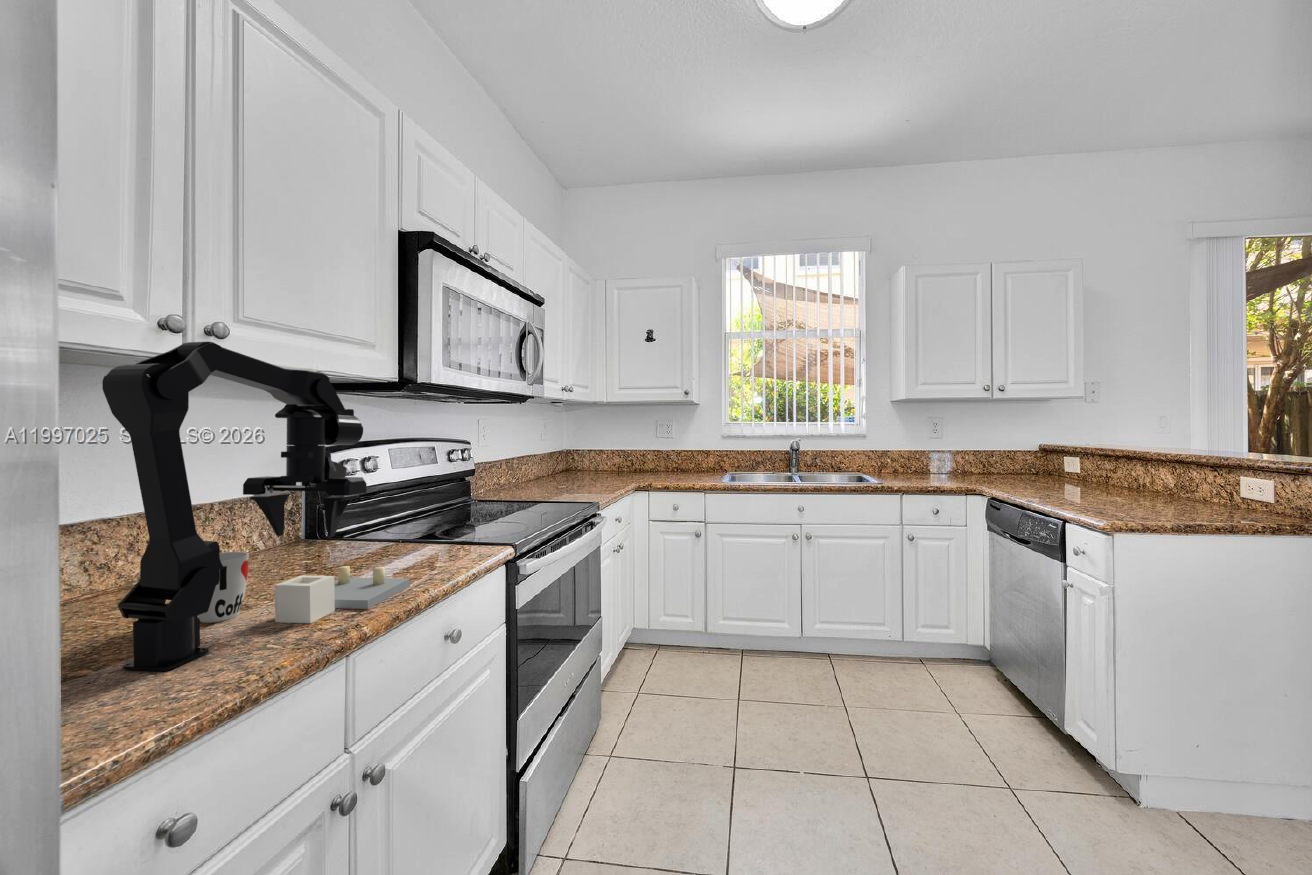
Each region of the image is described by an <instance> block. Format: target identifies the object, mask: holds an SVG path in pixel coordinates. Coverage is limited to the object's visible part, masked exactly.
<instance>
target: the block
mask: <svg viewBox="0 0 1312 875" xmlns="http://www.w3.org/2000/svg"><path fill="white" fill-rule="evenodd" d="M334 580H335V576H334V575H310V574H309V575H305V574H304V575H299V576H298V575H297V576H296V577H293V578H290V579H288V580H284V581H282V582H279V583H277V584H274V619H275V620H274V621H275V623H289V624H293V623H294V624H312V623H314V622H316V621H318V620H320V619H322V618H324V617H326V616H329V615H331V614H332V613H334V612H335V611H336V608H335V587H334Z"/></svg>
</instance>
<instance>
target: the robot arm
mask: <svg viewBox="0 0 1312 875" xmlns="http://www.w3.org/2000/svg"><path fill="white" fill-rule="evenodd" d="M210 376H213V377H216V378H217V377H218V378H220V379H225V380H228V381H231V382H235V383H238V384H242V385H246V386H248V387H252V388H255V389H259V390H262V391H264V392H267V393H269V394H270V395H271V396H272V397H273V399H275V400H277V401H279V402H281V403H284V404H285V406H284V407H283V408H282V409H280V410H278V412H276V413H275V415H274V417H275V418H276V419H286V451H280V459H281V458H284V459H285V458H286V461H285V462H286V464H285V465H286V467H285V468H286V471H285V472H286V473H285V474H286V475H280V476H257V477H256V476H255V477H247V479H246V480H245V481H244V482H243V484H242V495H244V496H248V495H249V496H250V495H251V496H250V497H249V499H250V501H254V502H255V503H256V504H257V506H258V508H259V509H260V510H261V512H262V514H263V515H264V516H265V518H266V520H267V521H268V523H269V525H270V527H271V528H272V530H273V532H274V533H275V535H276V536H277V537H281V536H282V537H283V535H284V532H285V509H286V508H285V504H286V502H287V501H288V498H289V497H290V493H284V492H326V494H327V495H328V496H327V497H323V500H322V501H323V508H324V518H325V529H326V533H327V537H328V538H333V537H334V536H336V535H335V534H336V532H337V529H338V527H339V525H340V522H341V519H342V518H343V514H344V512H345V511H346V509H347V507H348V506H349V504H350V503H351V502H352V501H353V500H354V499H358V498H359V497H360V495H362V494H366V493H367V482H366V480H365V479H364V478H363V476H362V477H361V476H354V477H353V476H346V475H347V474H346V473H347V470H348V468H347V467H346V466H345V465H342V464H340V463H339V462H336V461H333V460H332V454H331V451H330V450H326V446H353V445H356V444H358V443H359V442H360V441H361V439H362V437H363V434H364V426H363V424H362V422H361V420H360V419H359V418H358V417H357V416H355V410H354V409H353V408H352V409H351V408H345V405H344V404H343V402H342V401H341V399H340V396H339V395H338V393H337V391H336V390H335V388H334V386H333V384H332V383H331V380H330V377H329V376H328V375H327V374H325V373H324V372H320V371H312V370H303V369H290V368H284V367H281V366H277V365H275V364H272V363H269V362H266V361H264V360H261V359H257V358H255V357H253V356H249V355H246V354H242V353H240V352H237V351H234V350H232V349H228V348H226V347H223V346H221V345H219V344H218V343H215V342H213V341H188V342H184V343H182V344H180V345H178V346H176V347H174V348H172V349H170V350H168V351H165V352H163V353H159V354H157V355H154V356H152V357H148V358H146V359H142V360H141V361H139V362H136V363H134V364H122V365H118V366H115V367H114V368H112V369H110V370H109V372H108V373H107V374H106V375H104V376H103V379H102V383H101V384H102V392H103V394H104V397H105V399H106V401H107V405H108V407H109V409H110V412H111V415H113V417H114V418H115V419H116V420H117V421H118V423H119V424H120V425H121V427H123V428H124V430H125V431H127V433H128V436H129V437H130V441H131V445H132V452H133V459H134V462H135V468H136V473H137V477H138V478H137V479H138V485H139V490H140V495H141V500H142V506H143V511H144V516H145V521H146V526H147V532H148V538H149V540H148V544H147V546H146V548H145V551H144V553H143V555H142V557H141V560H140V565H139V566H140V567H139V568H140V569H139V573H140V574H139V580H138V582H136V584H135V585H134V586H133V587H132V588H131V589H130V591H128V592H127V594H126V595H125V596H124V597H123V598H122V600H120V602H119V603H118V605H117V608H118V610H119V612H120V614H121V615H122V618H123V619H137V620H135V621H133V622H132V643H133V644H132V645H133V646H132V647H133V650H132V652H133V660H132V661H129V662H128V663H125V664H123V665H122V670H130V671H153V672H154V671H156V672H157V671H158V672H161V671H162V672H164V671H170V670H173V669H174V668H177V667H179V666H181V665H183V664H186V663H187V662H190V661H193V660H194V659H196V658H198V657H200V656H203V655H206V654H207V653H210V649H209V647H201V627H200V626H201V625H200V624H201V621H200V619H199V617H198V615H200V614H203V613H206V612H208V610H209V606H210V603H211V600H212V597H213V594H214V590H215V587H216V585H218V584H219V581H220V570H219V569H224V567H223V565H222V564H221V561H220V556H219V553H220V545H219V543H218V541H215V540H213V541H211V540H204V539H203V538H202V537H201V536H200V535H199V534H198V532H197V527H196V522H195V521H196V520H195V516H194V510H193V504H192V498H191V492H190V488H189V487H190V486H189V481H188V480H189V479H188V475H187V474H188V473H187V469H186V464H185V458H184V457H185V456H184V452H183V445H182V440H181V435H180V433H181V432H180V430H181V426H182V425H183V423H184V420H185V419H186V416H187V414H188V411H189V404H190V403H189V402H190V401H189V400H190V399H189V397H190V396H189V394H190V392H191V391H192V390H194V389H197V388H198V387H199V386H201V385H202V384H204V383H205V382H206V381H207V379H208V378H209V377H210ZM297 483H301V485H299V484H298V485H297ZM166 601H169V602H168V603H167V602H166Z"/></svg>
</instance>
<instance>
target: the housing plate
mask: <svg viewBox="0 0 1312 875" xmlns="http://www.w3.org/2000/svg"><path fill="white" fill-rule="evenodd" d="M350 568H351V567H350V566H349V565H344V566H339V567H337V579H334V587H335V609H349V610H350V609H351V610H352V609H354V610H369V609H371V608H372V607H374V606H376V605H378V604H380V603H382V602H383V601H386V600H387V599H389V598H391V597H393V596H394V595H397V594H398V593H400V592H402V591H404V590H406V589H407V588H409V587H411V578H398V577H397V578H395V577H394V578H393V577H385V575H386V574H385V570H386V569H385V567H384V566H376V567H373V568H372V577H355V576H354V577H351V572H350V571H351V570H350Z"/></svg>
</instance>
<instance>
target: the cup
mask: <svg viewBox="0 0 1312 875" xmlns="http://www.w3.org/2000/svg"><path fill="white" fill-rule="evenodd" d="M249 555H250V554H249V553H248V552H244V551H228V552H227V551H226V552H224V551H223V552H219V556H220V561H221V564H222V565H223V567H224V569H219V570H220V581H219V584H218V585H216V587H215V590H214V594H213V597H212V600H211V603H210V606H209V610H208V612H206V613H203V614H200V615H198V617H199V619H200V623H204V624H205V623H206V624H208V623H209V624H211V623H218V622H225V621H228V620H231V619H235V618H236V617H238V616H239V614H240V612H241V609H242V605H243V602H244V600H245V595H246V588H247V584H248V577H249V576H248V575H249V574H248V573H249Z"/></svg>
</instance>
